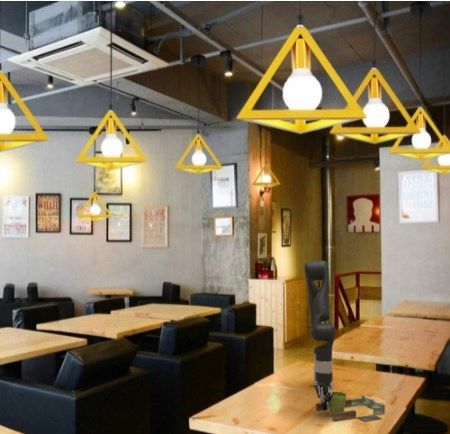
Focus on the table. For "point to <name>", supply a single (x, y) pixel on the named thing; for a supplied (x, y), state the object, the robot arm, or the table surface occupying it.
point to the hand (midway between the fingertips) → (324, 410)
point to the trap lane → (364, 400)
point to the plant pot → (337, 402)
